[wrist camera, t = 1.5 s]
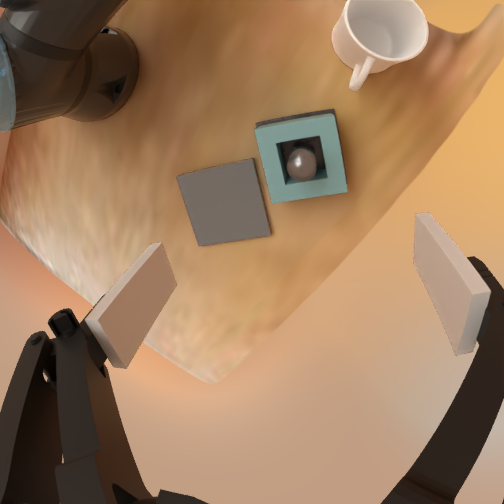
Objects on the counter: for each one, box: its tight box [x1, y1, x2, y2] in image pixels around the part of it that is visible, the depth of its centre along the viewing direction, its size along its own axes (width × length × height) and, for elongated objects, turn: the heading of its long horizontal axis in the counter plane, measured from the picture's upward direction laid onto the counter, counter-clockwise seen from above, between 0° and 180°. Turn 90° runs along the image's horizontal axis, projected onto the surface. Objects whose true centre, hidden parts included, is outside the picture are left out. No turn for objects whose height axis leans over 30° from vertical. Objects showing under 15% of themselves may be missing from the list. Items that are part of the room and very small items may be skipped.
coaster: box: [177, 158, 271, 246], centre depth 43 cm, size 11×11×1 cm
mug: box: [332, 0, 429, 92], centre depth 25 cm, size 12×8×12 cm
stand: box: [256, 109, 347, 184], centre depth 34 cm, size 10×10×9 cm
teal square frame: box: [254, 113, 347, 204], centre depth 36 cm, size 9×9×5 cm
